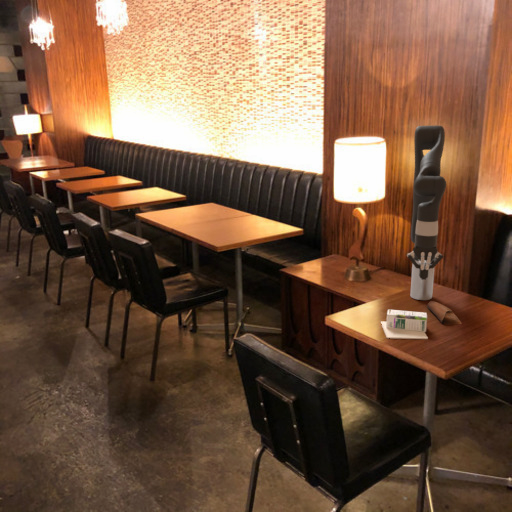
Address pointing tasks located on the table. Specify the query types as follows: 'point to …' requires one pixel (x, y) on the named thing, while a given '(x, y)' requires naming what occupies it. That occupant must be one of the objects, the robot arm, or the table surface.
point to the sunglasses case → (443, 313)
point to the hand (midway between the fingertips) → (423, 278)
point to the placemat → (402, 333)
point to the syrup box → (406, 320)
